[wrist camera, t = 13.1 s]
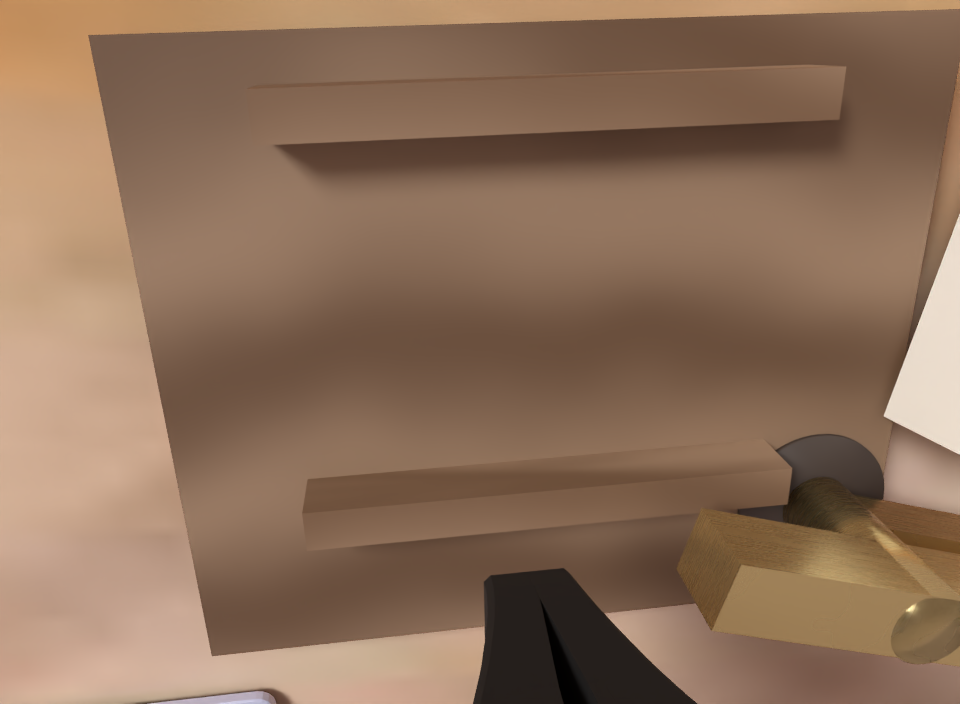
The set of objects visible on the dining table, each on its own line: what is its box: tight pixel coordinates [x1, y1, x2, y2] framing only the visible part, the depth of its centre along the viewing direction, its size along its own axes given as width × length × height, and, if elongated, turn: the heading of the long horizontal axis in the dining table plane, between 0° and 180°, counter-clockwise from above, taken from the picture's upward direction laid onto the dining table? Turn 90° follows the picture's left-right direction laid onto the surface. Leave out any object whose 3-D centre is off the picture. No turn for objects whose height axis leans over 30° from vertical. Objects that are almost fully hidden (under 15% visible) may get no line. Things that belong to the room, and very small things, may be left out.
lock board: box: [88, 9, 960, 656], centre depth 19 cm, size 15×18×4 cm
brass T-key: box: [676, 477, 960, 667], centre depth 19 cm, size 12×2×5 cm, turn 74°
